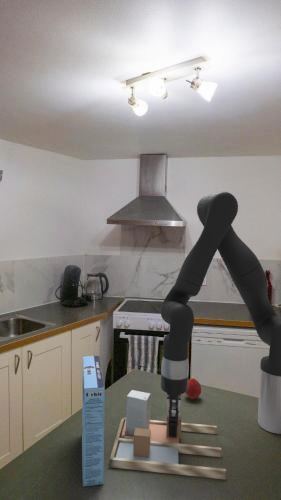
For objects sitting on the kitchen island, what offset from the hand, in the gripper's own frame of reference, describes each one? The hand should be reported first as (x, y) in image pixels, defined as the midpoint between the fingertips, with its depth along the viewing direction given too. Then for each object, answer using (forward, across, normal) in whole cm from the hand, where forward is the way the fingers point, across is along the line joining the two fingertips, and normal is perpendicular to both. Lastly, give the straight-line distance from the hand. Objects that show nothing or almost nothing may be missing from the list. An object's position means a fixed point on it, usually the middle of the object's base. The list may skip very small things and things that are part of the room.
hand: (172, 432), depth 92 cm
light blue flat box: (+2, -10, +21) cm, 23 cm away
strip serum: (+2, 0, +6) cm, 6 cm away
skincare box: (+2, 0, +10) cm, 10 cm away
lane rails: (+2, -4, +1) cm, 5 cm away
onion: (+2, +24, -7) cm, 25 cm away
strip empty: (+2, -9, +6) cm, 11 cm away
